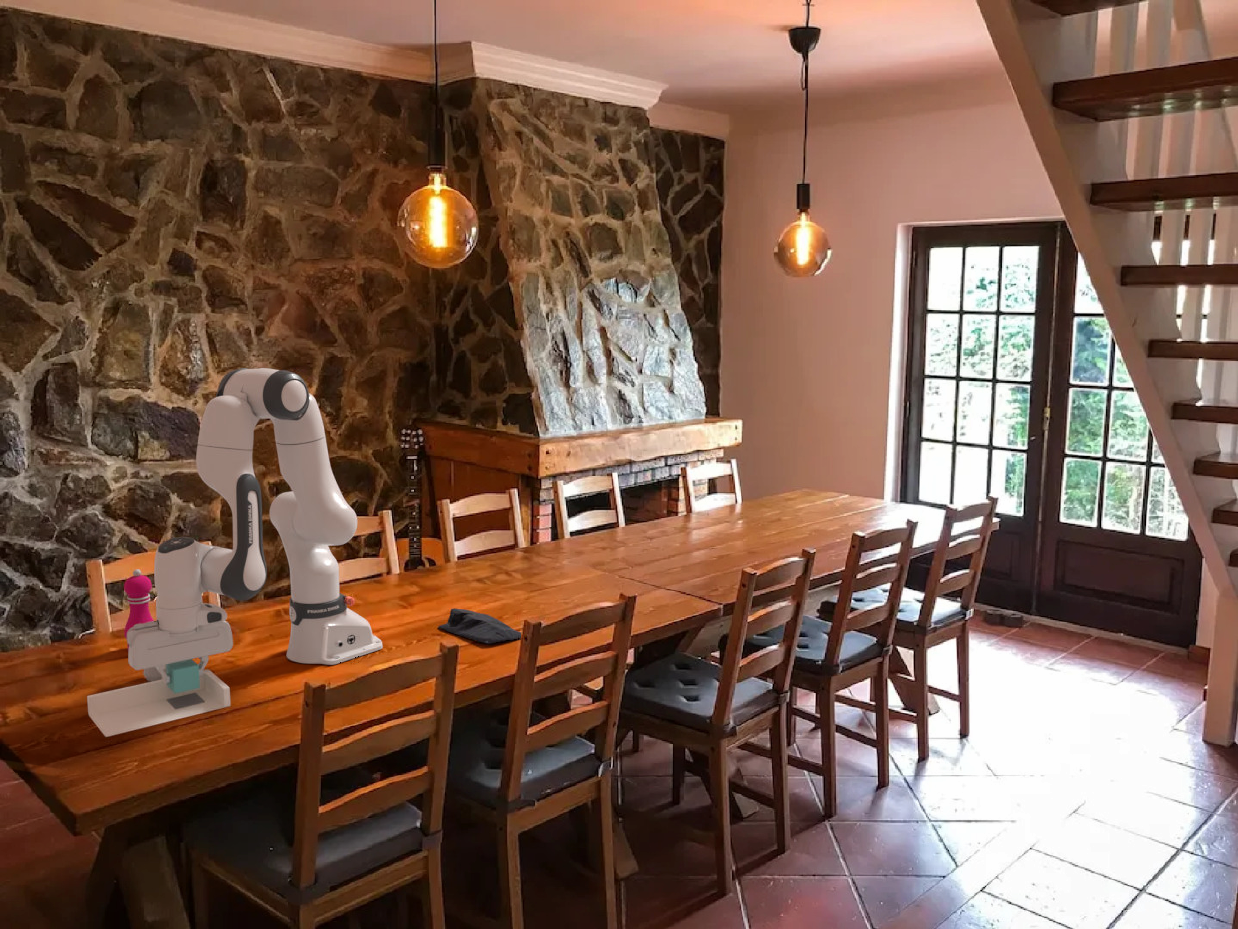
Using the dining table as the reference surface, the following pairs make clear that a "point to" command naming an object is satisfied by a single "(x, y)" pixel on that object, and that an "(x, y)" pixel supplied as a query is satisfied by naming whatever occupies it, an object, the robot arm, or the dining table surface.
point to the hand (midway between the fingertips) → (183, 679)
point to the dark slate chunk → (479, 627)
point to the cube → (183, 676)
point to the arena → (154, 704)
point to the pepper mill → (137, 600)
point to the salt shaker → (153, 674)
